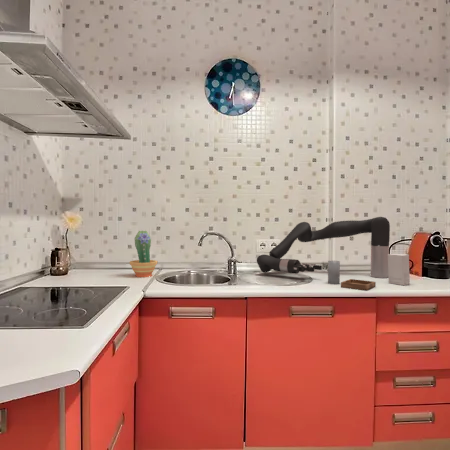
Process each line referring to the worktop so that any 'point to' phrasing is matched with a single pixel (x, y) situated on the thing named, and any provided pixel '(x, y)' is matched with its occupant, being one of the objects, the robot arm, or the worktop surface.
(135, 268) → the potted cactus
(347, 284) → the tray
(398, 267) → the skincare box
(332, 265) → the grey upright block
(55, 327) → the worktop surface
